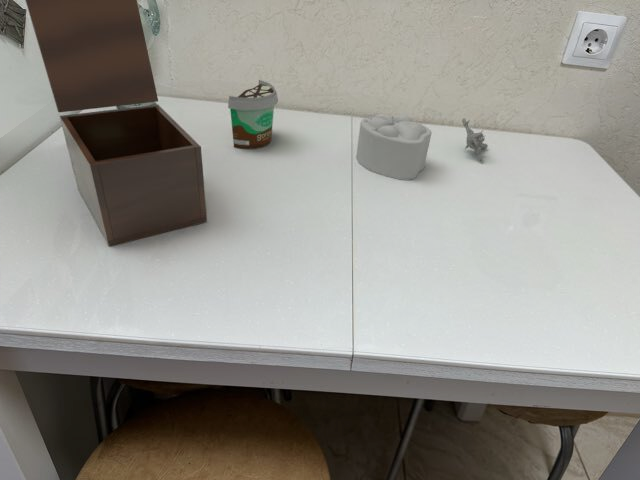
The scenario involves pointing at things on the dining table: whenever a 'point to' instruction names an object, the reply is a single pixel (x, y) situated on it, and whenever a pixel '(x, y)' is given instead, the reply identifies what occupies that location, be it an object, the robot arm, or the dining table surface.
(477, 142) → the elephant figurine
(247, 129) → the food container
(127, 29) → the lid
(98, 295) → the dining table surface
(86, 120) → the chest
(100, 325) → the dining table surface
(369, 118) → the lumpy-topped squat cylinder
